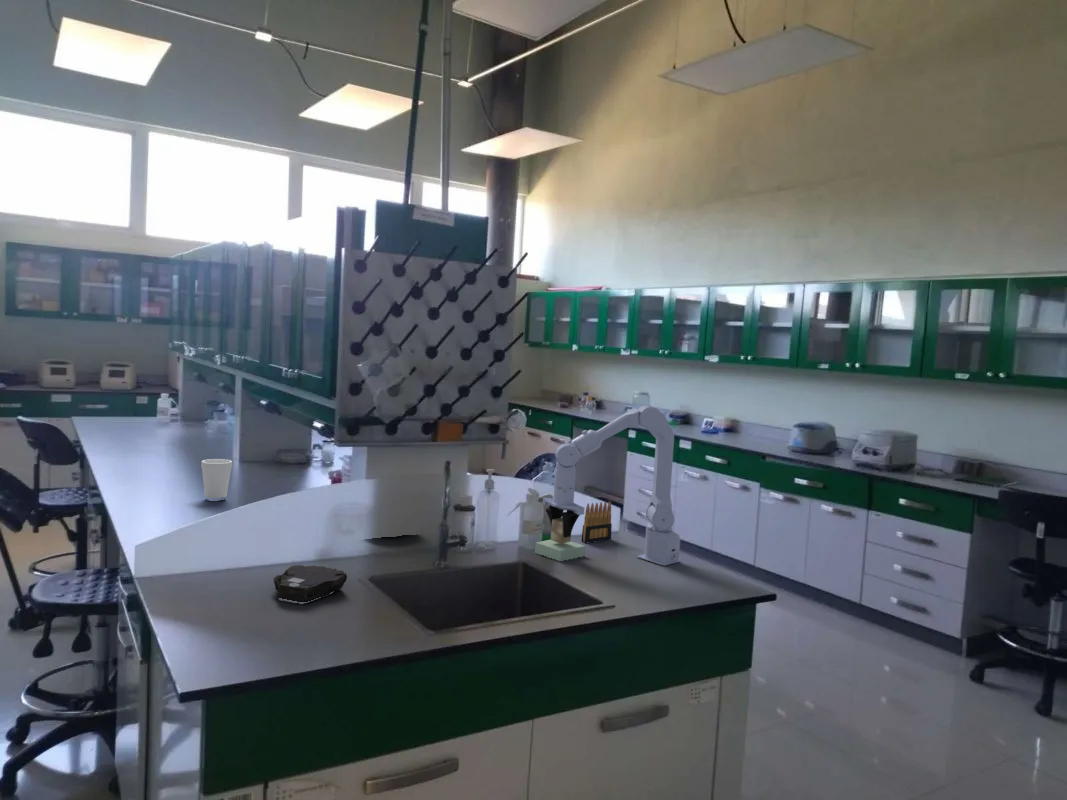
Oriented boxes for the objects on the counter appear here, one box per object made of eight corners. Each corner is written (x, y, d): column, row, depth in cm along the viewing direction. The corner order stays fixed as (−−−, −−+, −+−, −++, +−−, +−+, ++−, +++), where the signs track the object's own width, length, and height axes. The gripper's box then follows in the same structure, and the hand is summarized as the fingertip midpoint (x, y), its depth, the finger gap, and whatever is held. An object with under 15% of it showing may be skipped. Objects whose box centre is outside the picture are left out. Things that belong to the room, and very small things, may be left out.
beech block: (570, 541, 215) (572, 520, 215) (560, 543, 212) (562, 522, 212) (560, 538, 218) (562, 517, 217) (550, 540, 215) (552, 519, 215)
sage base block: (584, 556, 215) (585, 545, 215) (560, 561, 208) (560, 550, 208) (559, 547, 222) (560, 537, 222) (534, 552, 216) (535, 542, 215)
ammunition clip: (585, 543, 229) (587, 504, 229) (581, 541, 231) (583, 502, 230) (611, 539, 236) (614, 501, 235) (607, 538, 237) (610, 500, 237)
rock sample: (270, 583, 177) (270, 562, 176) (339, 579, 183) (340, 559, 182) (276, 609, 161) (277, 586, 160) (351, 603, 167) (352, 581, 166)
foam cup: (236, 500, 257) (238, 461, 256) (212, 504, 249) (213, 464, 248) (219, 495, 262) (220, 458, 261) (194, 499, 254) (195, 460, 253)
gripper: (536, 483, 216) (533, 530, 217) (573, 493, 206) (569, 542, 207) (553, 481, 221) (550, 527, 222) (590, 491, 211) (587, 539, 212)
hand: (561, 534), depth 215 cm, fingers closed on beech block, 4 cm apart
